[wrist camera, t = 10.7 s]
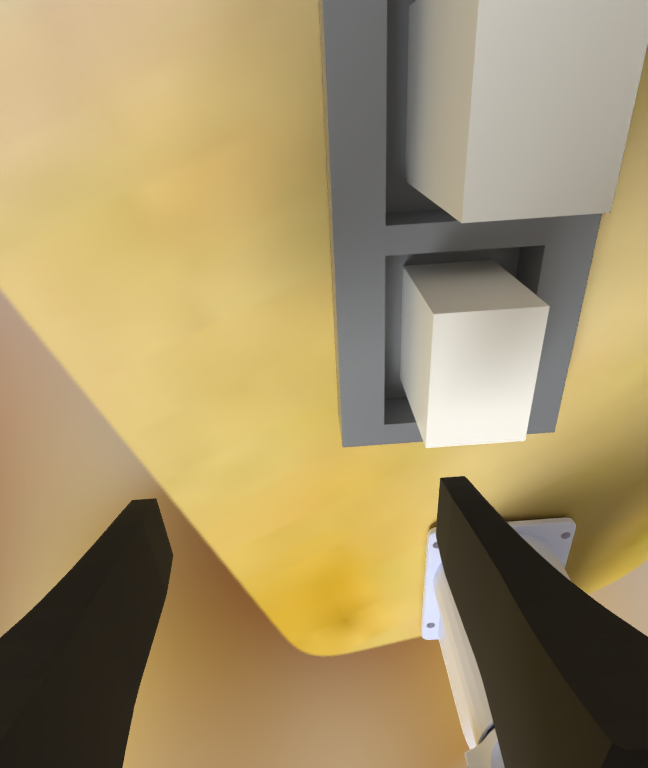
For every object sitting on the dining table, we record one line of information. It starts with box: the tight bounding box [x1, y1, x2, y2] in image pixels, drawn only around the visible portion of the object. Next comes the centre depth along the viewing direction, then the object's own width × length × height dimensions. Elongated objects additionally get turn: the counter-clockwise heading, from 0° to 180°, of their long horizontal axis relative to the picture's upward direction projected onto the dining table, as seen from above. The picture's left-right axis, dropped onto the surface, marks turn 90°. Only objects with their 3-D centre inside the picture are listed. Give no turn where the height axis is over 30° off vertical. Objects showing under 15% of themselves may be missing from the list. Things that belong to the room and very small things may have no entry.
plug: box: [405, 0, 648, 223], centre depth 13 cm, size 5×4×7 cm
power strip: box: [319, 0, 602, 448], centre depth 16 cm, size 17×9×6 cm, turn 3°
